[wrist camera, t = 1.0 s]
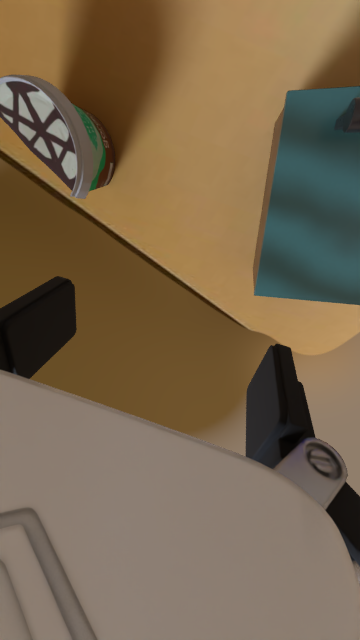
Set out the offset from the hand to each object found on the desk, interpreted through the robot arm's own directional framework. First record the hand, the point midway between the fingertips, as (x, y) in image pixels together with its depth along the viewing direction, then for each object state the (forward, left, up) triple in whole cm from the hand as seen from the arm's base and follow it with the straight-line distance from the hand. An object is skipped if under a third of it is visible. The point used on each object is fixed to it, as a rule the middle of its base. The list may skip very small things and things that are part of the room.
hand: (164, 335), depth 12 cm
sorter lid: (-8, +9, -18) cm, 22 cm away
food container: (-2, -20, -27) cm, 34 cm away
